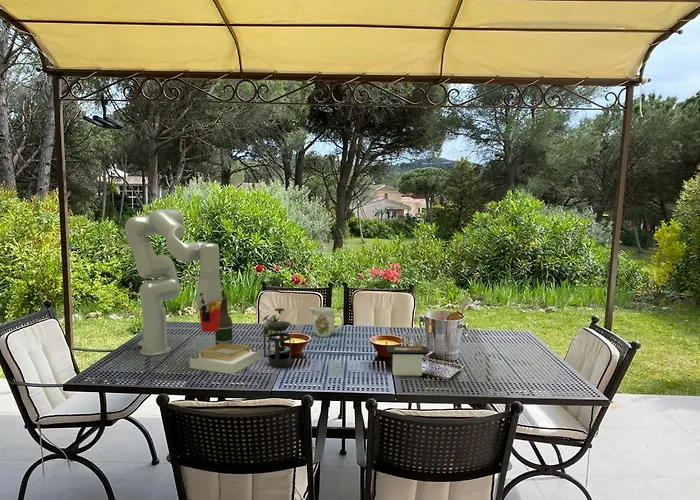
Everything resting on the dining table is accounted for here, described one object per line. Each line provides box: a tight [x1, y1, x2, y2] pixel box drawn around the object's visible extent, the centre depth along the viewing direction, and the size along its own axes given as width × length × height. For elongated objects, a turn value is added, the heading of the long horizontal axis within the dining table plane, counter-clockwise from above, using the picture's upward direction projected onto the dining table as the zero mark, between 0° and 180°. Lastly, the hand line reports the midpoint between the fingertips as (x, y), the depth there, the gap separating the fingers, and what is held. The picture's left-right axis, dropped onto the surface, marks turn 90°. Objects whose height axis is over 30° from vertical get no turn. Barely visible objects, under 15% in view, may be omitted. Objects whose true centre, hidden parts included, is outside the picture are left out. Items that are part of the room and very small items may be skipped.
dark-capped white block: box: [386, 337, 430, 376], centre depth 203 cm, size 35×28×14 cm
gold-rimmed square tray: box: [189, 342, 261, 375], centre depth 213 cm, size 20×20×6 cm
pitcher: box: [307, 306, 345, 338], centre depth 259 cm, size 11×18×14 cm, turn 88°
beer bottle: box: [214, 296, 233, 345], centre depth 232 cm, size 8×8×24 cm
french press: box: [263, 308, 292, 369], centre depth 213 cm, size 12×9×23 cm
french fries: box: [198, 301, 221, 333], centre depth 207 cm, size 8×4×12 cm, turn 88°
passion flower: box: [262, 313, 282, 335], centre depth 263 cm, size 11×11×12 cm
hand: (210, 319), depth 207 cm, fingers closed on french fries, 4 cm apart
